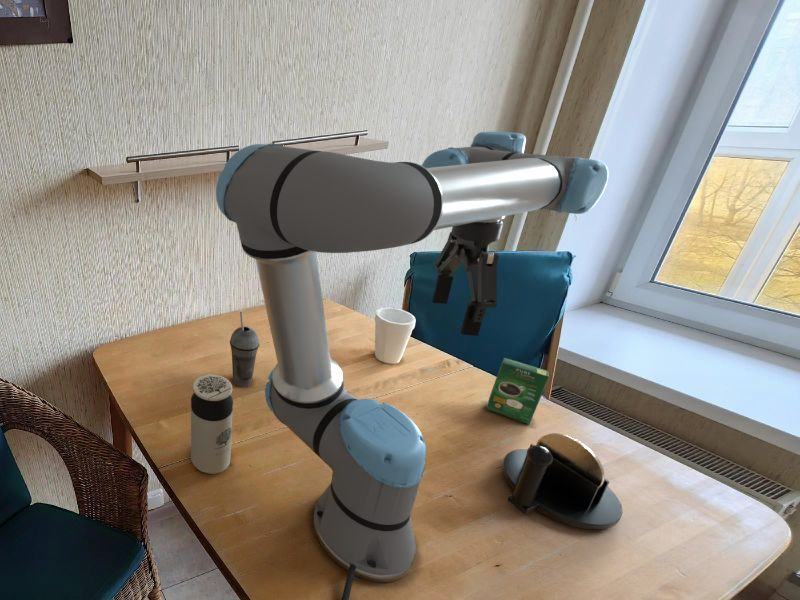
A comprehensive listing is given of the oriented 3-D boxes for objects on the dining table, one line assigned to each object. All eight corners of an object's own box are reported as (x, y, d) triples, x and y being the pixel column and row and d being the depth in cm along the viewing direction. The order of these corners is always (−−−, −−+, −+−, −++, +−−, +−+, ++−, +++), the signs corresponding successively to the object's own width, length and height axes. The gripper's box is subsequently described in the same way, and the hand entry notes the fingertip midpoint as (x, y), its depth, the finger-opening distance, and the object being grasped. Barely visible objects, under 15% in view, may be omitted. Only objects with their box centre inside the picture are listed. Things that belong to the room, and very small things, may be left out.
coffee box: (531, 419, 95) (549, 369, 90) (531, 426, 93) (549, 376, 88) (487, 403, 100) (502, 356, 95) (485, 410, 98) (501, 361, 93)
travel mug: (184, 451, 89) (183, 379, 82) (217, 439, 91) (219, 369, 85) (202, 480, 82) (203, 405, 75) (237, 466, 85) (242, 392, 78)
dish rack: (569, 551, 66) (597, 491, 62) (468, 472, 81) (485, 418, 76) (642, 510, 73) (673, 452, 68) (536, 443, 87) (556, 392, 82)
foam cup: (408, 353, 119) (417, 312, 115) (405, 371, 112) (414, 327, 107) (371, 344, 124) (378, 304, 119) (366, 360, 117) (373, 318, 112)
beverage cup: (256, 391, 106) (261, 321, 99) (227, 388, 107) (230, 318, 100) (256, 374, 112) (261, 306, 105) (228, 371, 114) (231, 304, 107)
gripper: (544, 238, 68) (507, 352, 75) (469, 202, 91) (446, 292, 98) (492, 236, 69) (461, 348, 77) (430, 201, 92) (411, 290, 100)
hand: (453, 317), depth 88 cm, fingers open, 13 cm apart
